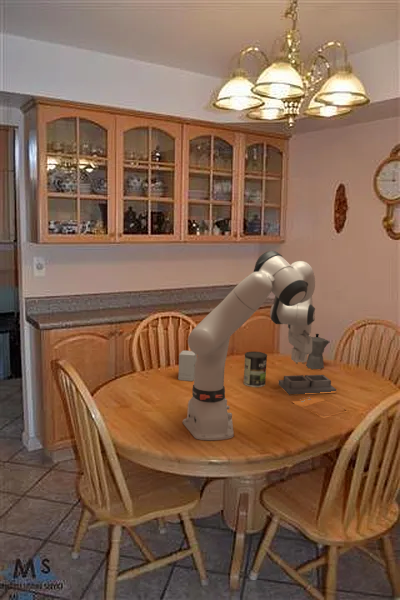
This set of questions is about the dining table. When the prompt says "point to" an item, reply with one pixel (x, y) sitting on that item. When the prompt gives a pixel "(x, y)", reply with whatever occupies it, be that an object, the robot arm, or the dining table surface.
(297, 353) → the plug
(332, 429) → the dining table surface
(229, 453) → the dining table surface
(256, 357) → the coffee can
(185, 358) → the supplement box
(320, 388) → the socket board
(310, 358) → the coffeepot
